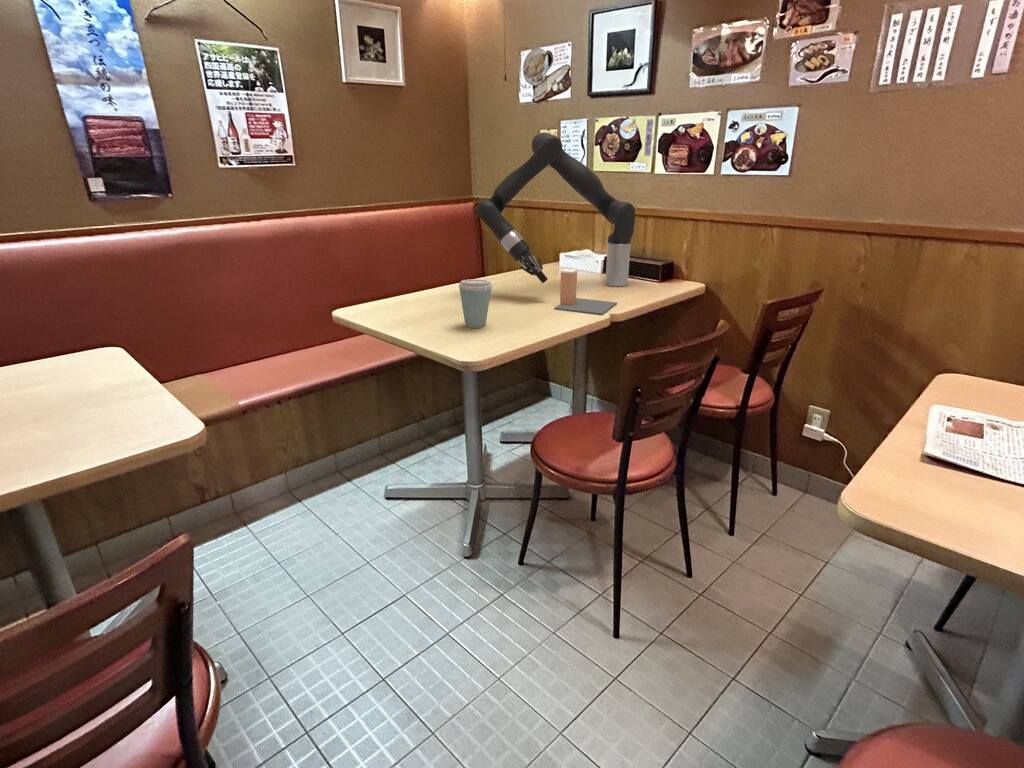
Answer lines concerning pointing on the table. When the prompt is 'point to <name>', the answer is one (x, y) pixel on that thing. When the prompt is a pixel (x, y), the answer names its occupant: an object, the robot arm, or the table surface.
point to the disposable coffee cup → (475, 301)
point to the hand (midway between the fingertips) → (545, 281)
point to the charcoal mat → (587, 306)
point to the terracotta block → (568, 286)
